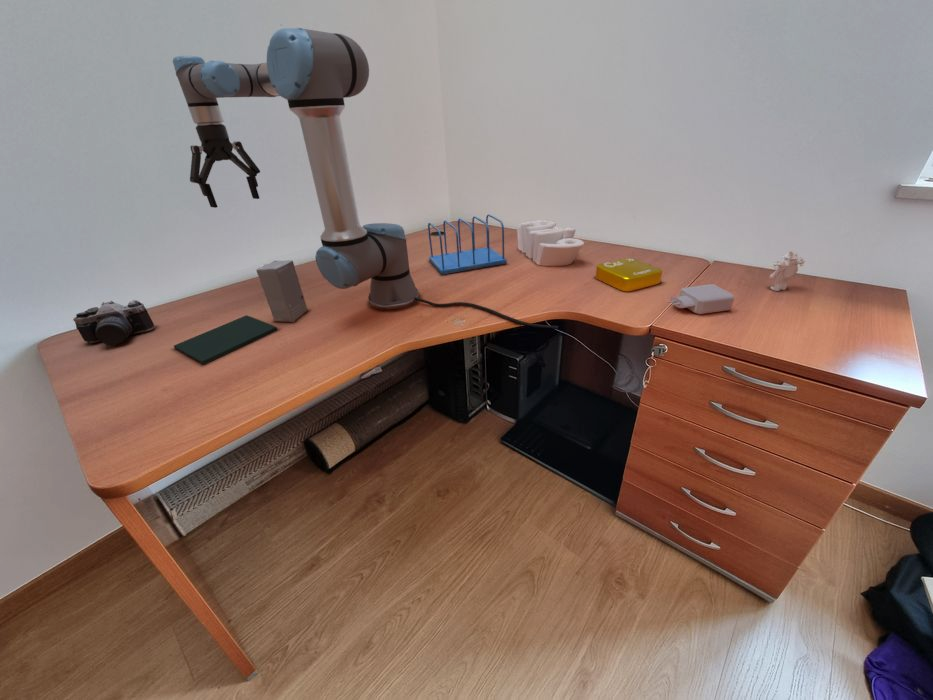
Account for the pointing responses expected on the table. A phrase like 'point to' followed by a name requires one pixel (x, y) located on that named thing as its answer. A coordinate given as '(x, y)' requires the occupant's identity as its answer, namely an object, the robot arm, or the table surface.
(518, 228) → the wavy white extrusion
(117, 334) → the camera
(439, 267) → the file sorter
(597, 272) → the element tile
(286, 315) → the cosmetic box
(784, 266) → the hat wearing toy figure
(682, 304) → the charger
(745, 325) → the table surface
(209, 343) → the desk mat
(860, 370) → the table surface
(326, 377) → the table surface
